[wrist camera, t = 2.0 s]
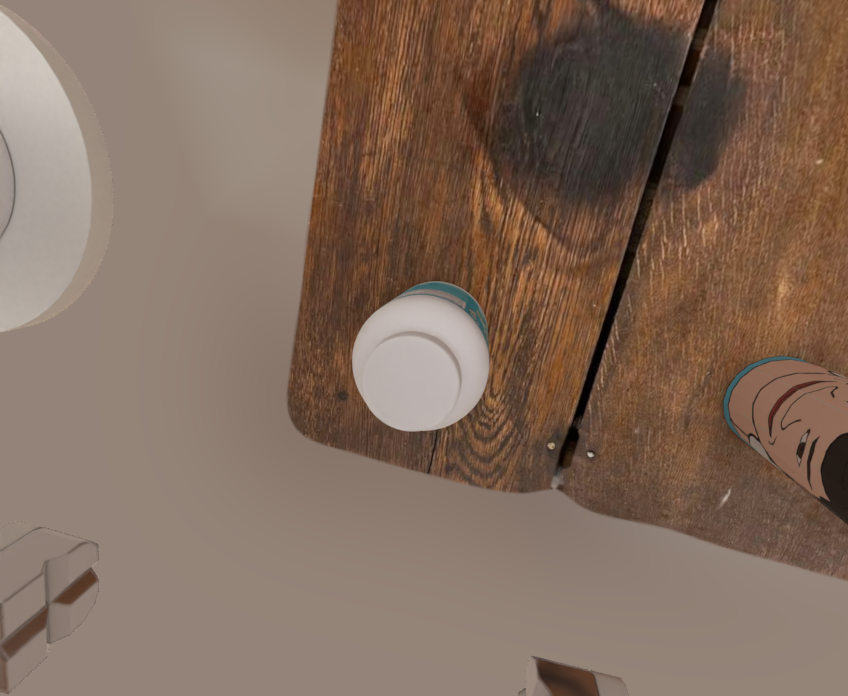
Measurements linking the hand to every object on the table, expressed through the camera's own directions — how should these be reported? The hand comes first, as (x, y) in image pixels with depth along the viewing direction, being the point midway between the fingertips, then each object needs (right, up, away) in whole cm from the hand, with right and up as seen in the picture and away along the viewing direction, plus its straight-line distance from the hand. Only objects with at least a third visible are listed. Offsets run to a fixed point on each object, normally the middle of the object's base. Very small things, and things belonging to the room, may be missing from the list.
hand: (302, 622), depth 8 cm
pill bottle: (+3, +6, +26) cm, 27 cm away
